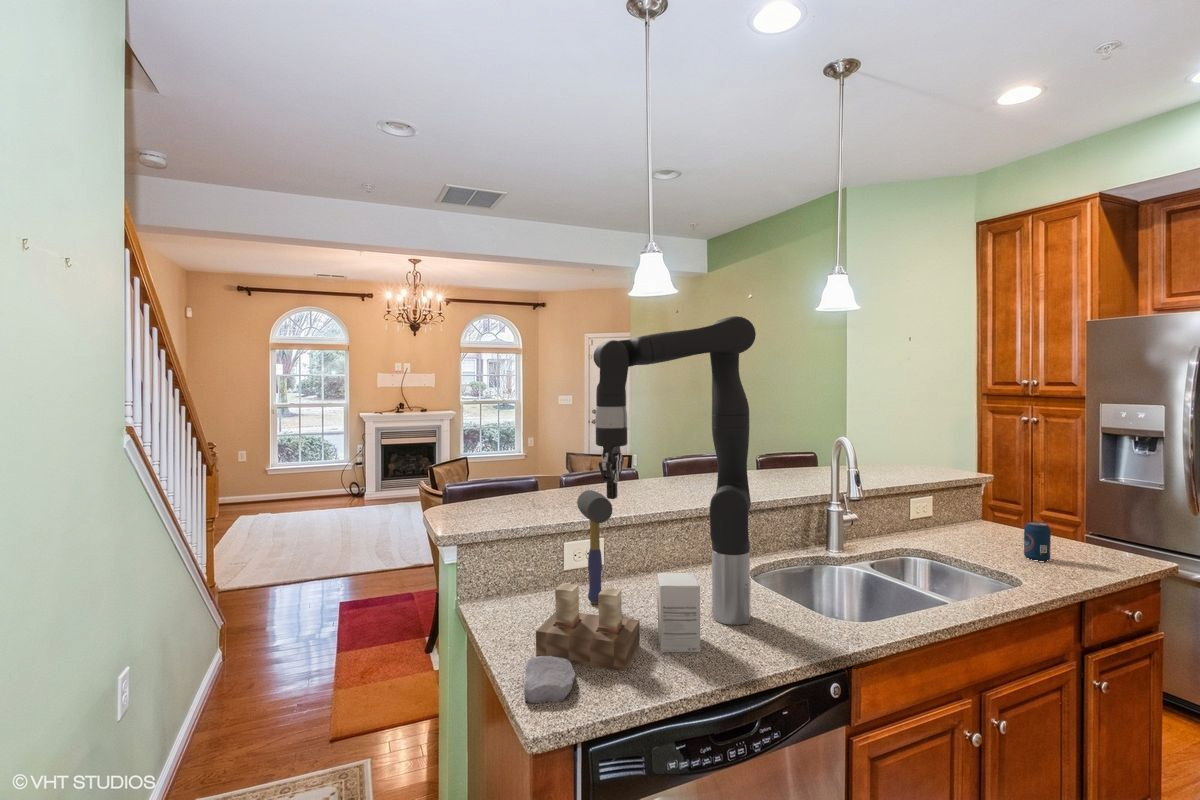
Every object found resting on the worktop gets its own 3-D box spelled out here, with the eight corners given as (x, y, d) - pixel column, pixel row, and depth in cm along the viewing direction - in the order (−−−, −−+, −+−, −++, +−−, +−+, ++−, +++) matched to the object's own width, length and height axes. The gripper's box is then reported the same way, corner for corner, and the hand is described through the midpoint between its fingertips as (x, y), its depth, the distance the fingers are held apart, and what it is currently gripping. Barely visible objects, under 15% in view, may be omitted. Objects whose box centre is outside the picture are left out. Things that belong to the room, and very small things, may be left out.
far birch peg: (579, 641, 131) (579, 584, 130) (573, 650, 127) (572, 591, 126) (562, 639, 132) (561, 583, 132) (555, 647, 128) (554, 589, 128)
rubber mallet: (615, 609, 152) (614, 495, 151) (588, 612, 150) (586, 497, 149) (602, 593, 164) (600, 487, 163) (576, 596, 162) (575, 489, 161)
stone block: (570, 679, 120) (522, 672, 119) (575, 657, 120) (527, 650, 119) (573, 714, 108) (520, 707, 107) (578, 689, 108) (525, 682, 107)
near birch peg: (622, 647, 127) (621, 589, 127) (617, 656, 123) (616, 596, 123) (604, 645, 129) (603, 587, 128) (598, 653, 125) (597, 594, 124)
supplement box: (657, 635, 136) (656, 571, 136) (695, 635, 136) (695, 571, 136) (659, 653, 127) (659, 585, 127) (700, 653, 127) (700, 585, 126)
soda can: (1019, 556, 194) (1019, 520, 194) (1042, 556, 193) (1042, 521, 193) (1031, 562, 187) (1032, 525, 187) (1055, 563, 186) (1055, 526, 186)
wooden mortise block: (639, 646, 130) (639, 620, 130) (625, 671, 119) (625, 643, 119) (557, 635, 137) (557, 610, 136) (536, 658, 125) (535, 630, 125)
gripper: (618, 427, 130) (619, 504, 130) (633, 423, 142) (634, 494, 143) (587, 427, 132) (588, 503, 132) (604, 423, 145) (605, 492, 145)
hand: (612, 498), depth 138 cm, fingers closed
